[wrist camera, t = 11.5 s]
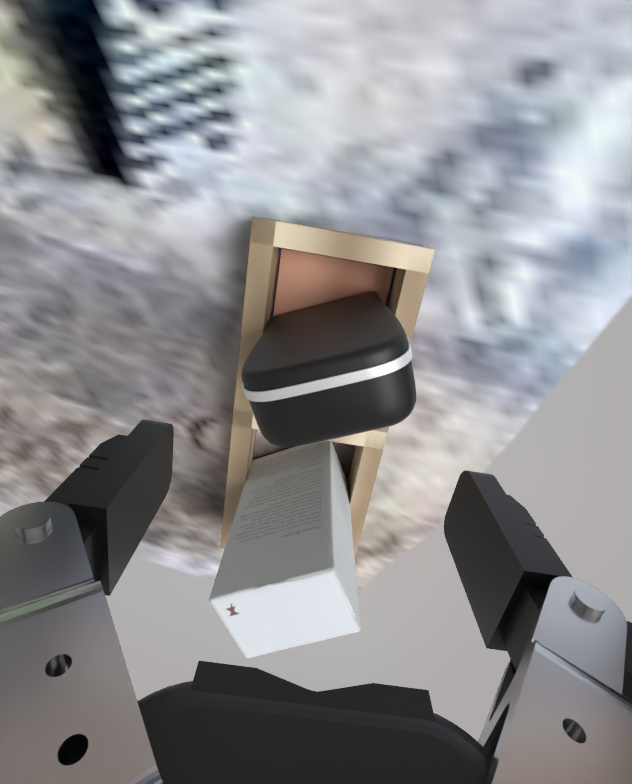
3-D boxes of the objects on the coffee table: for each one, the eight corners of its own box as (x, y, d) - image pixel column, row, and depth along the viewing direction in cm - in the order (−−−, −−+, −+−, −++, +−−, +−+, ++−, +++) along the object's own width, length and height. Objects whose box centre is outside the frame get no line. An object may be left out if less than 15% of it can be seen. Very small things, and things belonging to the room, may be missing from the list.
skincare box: (273, 505, 31) (242, 662, 20) (251, 458, 30) (203, 600, 19) (351, 482, 30) (363, 635, 19) (332, 433, 29) (332, 567, 18)
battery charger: (284, 372, 27) (256, 471, 16) (267, 315, 26) (224, 383, 15) (391, 347, 26) (434, 434, 16) (380, 287, 25) (418, 337, 14)
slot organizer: (229, 519, 32) (220, 547, 29) (261, 217, 24) (252, 217, 21) (350, 537, 32) (352, 567, 30) (422, 246, 24) (434, 249, 21)
